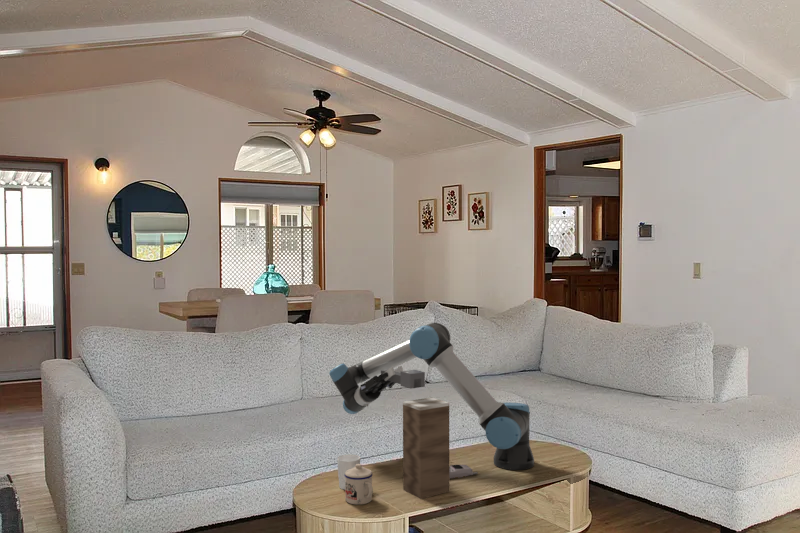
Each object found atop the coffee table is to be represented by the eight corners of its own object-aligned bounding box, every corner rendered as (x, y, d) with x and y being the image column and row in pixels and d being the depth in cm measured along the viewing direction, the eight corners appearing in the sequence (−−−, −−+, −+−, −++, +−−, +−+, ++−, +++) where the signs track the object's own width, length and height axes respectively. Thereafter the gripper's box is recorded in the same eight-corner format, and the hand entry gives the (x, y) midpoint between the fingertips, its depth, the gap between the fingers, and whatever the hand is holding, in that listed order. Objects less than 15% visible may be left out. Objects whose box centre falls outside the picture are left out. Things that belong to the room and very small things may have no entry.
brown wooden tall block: (403, 489, 234) (402, 401, 233) (431, 483, 241) (431, 397, 240) (420, 498, 226) (420, 407, 225) (449, 491, 233) (449, 402, 232)
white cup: (333, 485, 239) (333, 456, 239) (354, 481, 243) (354, 453, 243) (343, 492, 232) (343, 462, 232) (364, 488, 236) (364, 459, 236)
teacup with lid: (339, 499, 226) (339, 463, 226) (362, 493, 232) (362, 458, 231) (359, 510, 217) (359, 473, 216) (383, 503, 222) (383, 467, 222)
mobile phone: (407, 462, 247) (471, 454, 254) (407, 478, 247) (471, 470, 255) (412, 467, 241) (478, 459, 249) (413, 484, 241) (478, 476, 249)
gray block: (377, 378, 252) (377, 365, 252) (391, 377, 255) (391, 363, 255) (410, 388, 235) (410, 374, 234) (424, 386, 238) (424, 372, 238)
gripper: (388, 399, 267) (419, 377, 249) (352, 405, 258) (381, 382, 240) (382, 381, 269) (413, 358, 252) (346, 386, 260) (375, 362, 243)
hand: (397, 370), depth 246 cm, fingers closed on gray block, 3 cm apart
